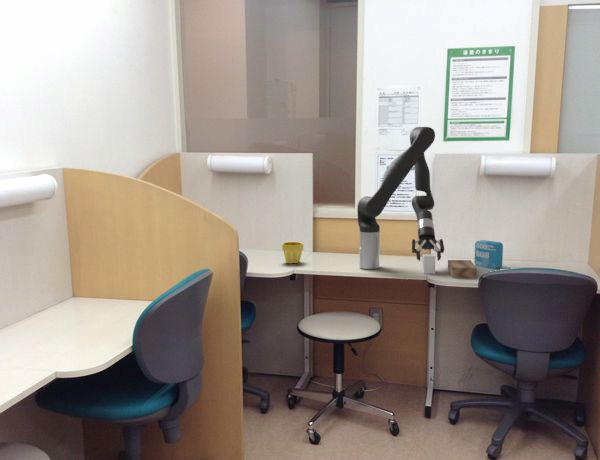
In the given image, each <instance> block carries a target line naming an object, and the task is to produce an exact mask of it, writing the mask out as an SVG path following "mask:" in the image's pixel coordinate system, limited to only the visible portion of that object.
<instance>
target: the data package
mask: <svg viewBox="0 0 600 460" xmlns="http://www.w3.org/2000/svg"><path fill="white" fill-rule="evenodd" d="M503 257H504V245H503V243H502V242H500V241H492V240H486V239H481V240H476V241H475V243H474V263H473V264H474V265H475V266H476V267H479V268H480V267H481V268H485V269H486V268H487V269H492V270H498V269H501V268H502V266H503V259H504V258H503Z"/></svg>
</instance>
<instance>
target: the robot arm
mask: <svg viewBox="0 0 600 460" xmlns="http://www.w3.org/2000/svg"><path fill="white" fill-rule="evenodd" d="M435 138H436V132H435V130H434V128H432V127H430V126H417V127H414V128H412V129H411V131H410V134H409V142H410V146H409V147H408V148H407V149H406V150H405V151H403V152H402V153H400V154H399V155H398V156H397V157H396V158H394V159H393V160H392V161H391V163H390V164H389V165H388V167H387V168H386V170H385V171H384V174H383V177H382V180H381V184H380V186H379V188H378V189H377V190H376V192H375V193H374V194H373V195H372V196H363V197H361V198H360V199H359V201H358V202H357V223H358V227H359V228H358V229H359V269H365V270H377V269H379V268H380V264H381V263H380V249H381V248H380V247H381V246H380V239H381V238H380V236H381V235H380V229H381V228H380V224H378V222H377V219H376V218H377V217H378V216H380V214H382V212H383V211H384V210H385V208H386V206H387V205H388V202H389V200H390V199H391V198H392V196H393V194H394V193H395V192H396V190H397V189H398V188H399V186H400V185H401V184H402V182H403V181H404V180H405V179H406V177H407V176H408V174H409V173H410V171H411V170H412V169H413V167H414V185H415V187H414V188H415V191H418V192H419V191H420V192H424V193H425V195H415V196H413V197H412V198H411V206H412V209H413V211H414V213H415V215H416V220H417V221H416V222H417V228H416V229H417V237H418V240H416V239H414V238H413V239H412V240H411V253H413V254H416V260H417V261H419V262H420V261H421V252H422V251H423V250H424V251H426V250H429V251H431V250H432V251H433V252H435V253H436V259H437V261H439V262H440V260H441V258H442V254H443V253H444V252H445V245H444V240H443V239H442V238H441V239H436V233H435V225H434V223H433V214H432V211H431V210H432V209H434V207H435V201H434V197H433V193H432V190H431V174H430V169H429V165H428V163H427V160H426V157H425V153H426V151H427V150H429V148H430V147H431V145H433V143H434V141H435ZM417 245H418V248H416V246H417ZM438 246H439V247H438Z"/></svg>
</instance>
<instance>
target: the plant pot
mask: <svg viewBox="0 0 600 460" xmlns="http://www.w3.org/2000/svg"><path fill="white" fill-rule="evenodd" d="M281 247H282V248H281V249H282V251H283V255H284V260H285V263H286V262H287V263H298V262H299V263H300V262H301V258H302V251H304V243H303V242H300V241H285V242H282V243H281ZM287 263H286V264H287ZM299 263H298V264H299Z"/></svg>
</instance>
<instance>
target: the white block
mask: <svg viewBox="0 0 600 460" xmlns="http://www.w3.org/2000/svg"><path fill="white" fill-rule="evenodd" d="M421 258H422V259H421V265H422V267H421V271H422V274H424V275H431V274H430V273H433V274H432V275H436V259H437V255H436V254H434V253H422V257H421Z"/></svg>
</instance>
